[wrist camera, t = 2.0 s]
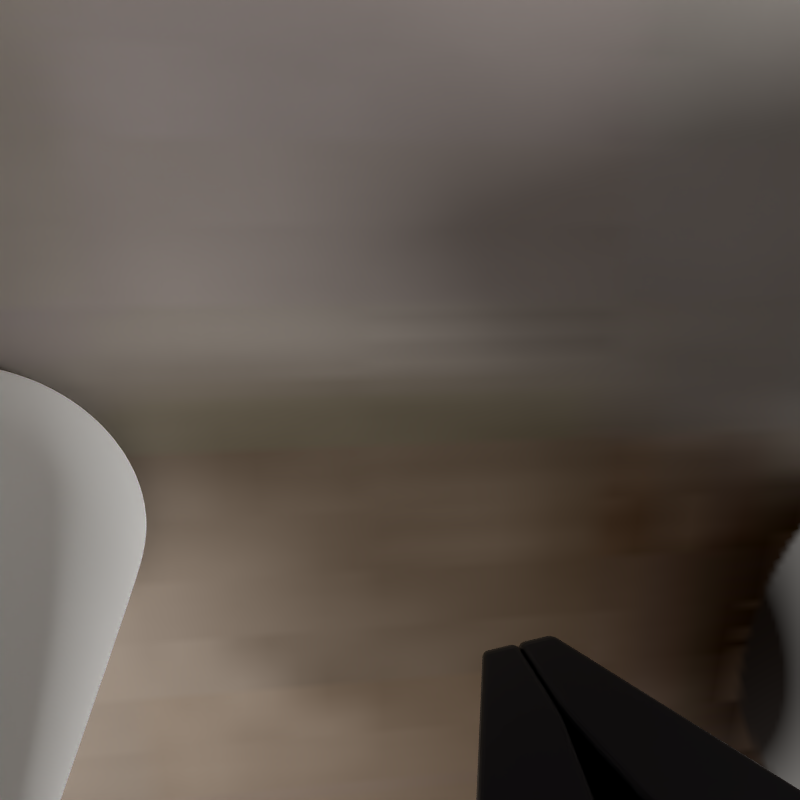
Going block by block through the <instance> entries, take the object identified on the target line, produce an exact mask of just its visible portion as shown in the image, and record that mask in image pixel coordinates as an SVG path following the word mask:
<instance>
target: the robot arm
mask: <svg viewBox="0 0 800 800" xmlns="http://www.w3.org/2000/svg"><path fill="white" fill-rule="evenodd" d="M476 800H800V790H799V789H797V788H796V787H794V786H792V785H791V784H789V783H788V782H786V781H785V780H783V779H781V778H780V777H778V776H777V775H775V774H773V773H772V772H770V771H769V770H767V769H765V768H764V767H762V766H761V765H759V764H757V763H756V762H754V761H753V760H751V759H749V758H748V757H746V756H745V755H743V754H741V753H740V752H738V751H737V750H735V749H733V748H732V747H730V746H729V745H727V744H725V743H724V742H722V741H721V740H719V739H717V738H716V737H714V736H713V735H711V734H709V733H708V732H706V731H705V730H703V729H701V728H700V727H698V726H697V725H695V724H693V723H692V722H690V721H689V720H687V719H685V718H684V717H682V716H681V715H679V714H677V713H676V712H674V711H673V710H671V709H669V708H668V707H666V706H665V705H663V704H661V703H660V702H658V701H657V700H655V699H653V698H652V697H650V696H649V695H647V694H645V693H644V692H642V691H641V690H639V689H637V688H636V687H634V686H633V685H631V684H629V683H628V682H626V681H625V680H623V679H621V678H620V677H618V676H617V675H615V674H613V673H612V672H610V671H609V670H607V669H605V668H604V667H602V666H601V665H599V664H597V663H596V662H594V661H593V660H591V659H589V658H588V657H586V656H585V655H583V654H581V653H580V652H578V651H577V650H575V649H573V648H572V647H570V646H569V645H567V644H565V643H564V642H562V641H561V640H559V639H557V638H555V637H552V636H546V637H542V638H538V639H533V640H529V641H525V642H522V643H521V644H520V646H519V648H518V647H517V646H515V645H509V646H505V647H500V648H496V649H492V650H488V651H486V652H485V653H484V655H483V660H482V682H481V705H480V729H479V752H478V775H477V798H476Z"/></svg>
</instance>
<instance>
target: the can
mask: <svg viewBox="0 0 800 800" xmlns="http://www.w3.org/2000/svg"><path fill="white" fill-rule="evenodd" d="M145 539H146V511H145V504H144V499H143V495H142V491H141V488H140V485H139V482H138V479H137V477H136V474H135V472H134V470H133V468H132V466H131V464H130V462H129V460H128V459H127V457H126V455H125V454H124V452H123V451H122V449H121V448H120V446H119V445H118V444H117V442H116V441H115V440H114V439H113V437H112V436H111V435H110V434H109V433H108V432H107V430H106V429H105V428H104V427H103V426H102V425H101V424H100V423H99V422H98V421H97V420H96V419H95V418H93V417H92V416H91V415H90V414H89V413H88V412H86V411H85V410H84V409H83V408H81V407H80V406H79V405H77V404H76V403H74V402H73V401H71V400H70V399H68V398H67V397H65V396H64V395H62V394H60V393H58V392H57V391H55V390H53V389H51V388H49V387H47V386H45V385H43V384H41V383H38V382H36V381H34V380H31V379H29V378H26V377H23V376H20V375H17V374H14V373H11V372H7V371H3V370H0V800H61V797H62V794H63V791H64V788H65V785H66V782H67V780H68V777H69V774H70V771H71V768H72V765H73V762H74V759H75V756H76V754H77V751H78V748H79V745H80V742H81V739H82V736H83V733H84V730H85V727H86V724H87V722H88V719H89V716H90V713H91V710H92V707H93V704H94V701H95V698H96V695H97V692H98V690H99V687H100V684H101V681H102V678H103V675H104V672H105V669H106V666H107V663H108V660H109V657H110V655H111V652H112V649H113V646H114V643H115V640H116V637H117V634H118V631H119V628H120V625H121V622H122V619H123V616H124V613H125V610H126V607H127V604H128V601H129V598H130V595H131V592H132V589H133V586H134V583H135V580H136V577H137V573H138V570H139V567H140V563H141V560H142V556H143V551H144V546H145Z"/></svg>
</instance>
